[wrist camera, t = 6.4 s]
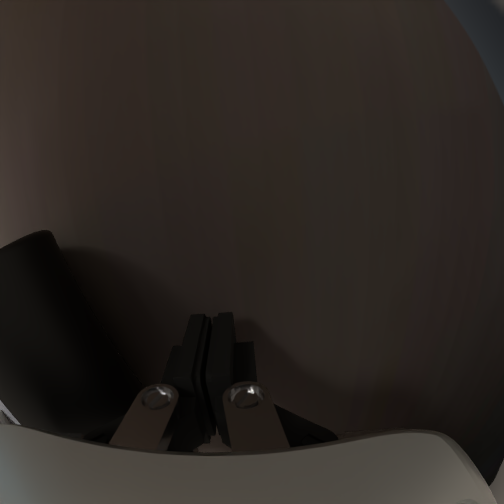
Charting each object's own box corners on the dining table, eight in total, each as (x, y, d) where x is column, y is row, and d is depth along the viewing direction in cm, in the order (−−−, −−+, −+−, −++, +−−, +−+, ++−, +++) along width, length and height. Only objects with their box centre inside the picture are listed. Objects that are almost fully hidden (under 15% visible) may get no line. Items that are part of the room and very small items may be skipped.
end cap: (185, 390, 14) (163, 501, 7) (91, 408, 14) (53, 489, 8) (83, 212, 11) (-33, 260, 4) (1, 269, 11) (-81, 321, 5)
